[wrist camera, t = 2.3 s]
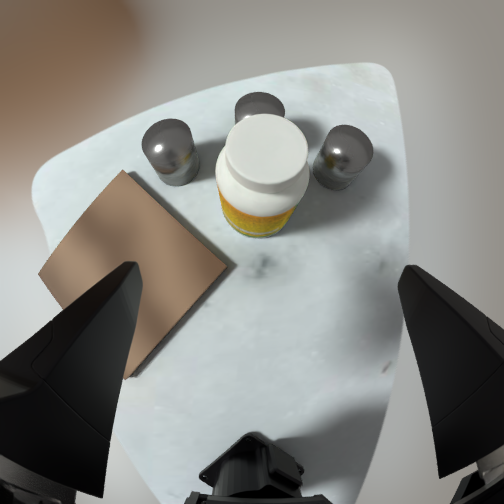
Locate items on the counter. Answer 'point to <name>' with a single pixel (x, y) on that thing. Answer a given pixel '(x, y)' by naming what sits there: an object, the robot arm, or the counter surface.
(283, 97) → the counter surface
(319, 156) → the standoff posts
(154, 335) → the walnut board
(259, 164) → the supplement bottle
